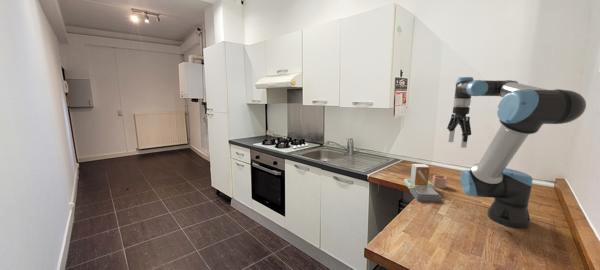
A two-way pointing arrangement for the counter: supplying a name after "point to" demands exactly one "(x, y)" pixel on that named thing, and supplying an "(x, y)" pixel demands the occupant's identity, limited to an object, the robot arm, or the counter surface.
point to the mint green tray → (407, 182)
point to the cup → (439, 181)
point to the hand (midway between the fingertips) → (456, 144)
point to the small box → (419, 174)
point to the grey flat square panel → (425, 190)
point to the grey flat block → (424, 196)
